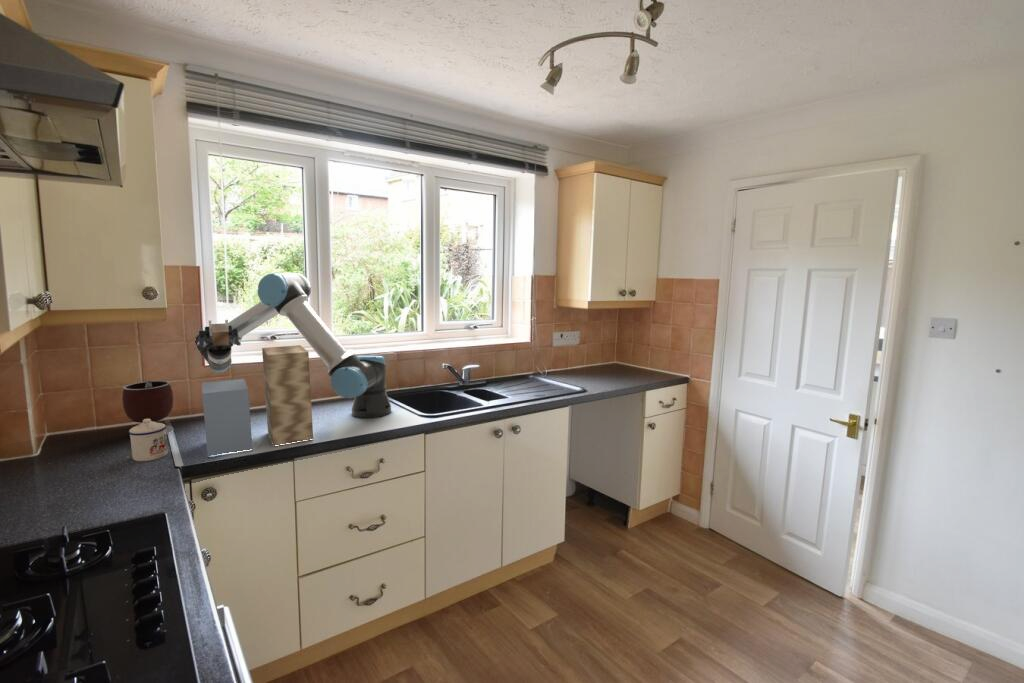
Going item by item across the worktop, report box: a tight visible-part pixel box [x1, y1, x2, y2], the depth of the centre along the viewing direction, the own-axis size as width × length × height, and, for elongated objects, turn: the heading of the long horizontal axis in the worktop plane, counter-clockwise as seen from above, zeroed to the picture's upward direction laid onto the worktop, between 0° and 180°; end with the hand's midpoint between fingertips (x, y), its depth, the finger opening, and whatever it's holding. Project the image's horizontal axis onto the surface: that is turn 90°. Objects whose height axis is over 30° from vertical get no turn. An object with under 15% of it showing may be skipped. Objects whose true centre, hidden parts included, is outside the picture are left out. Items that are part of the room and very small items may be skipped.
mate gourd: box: [122, 380, 174, 434], centre depth 169 cm, size 16×14×20 cm
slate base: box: [201, 378, 254, 457], centre depth 157 cm, size 12×16×20 cm
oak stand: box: [261, 345, 314, 446], centre depth 165 cm, size 12×16×30 cm
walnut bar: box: [211, 323, 229, 346], centre depth 157 cm, size 4×26×4 cm, turn 32°
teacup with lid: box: [128, 419, 169, 462], centre depth 150 cm, size 12×9×12 cm
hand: (218, 323), depth 161 cm, fingers closed on walnut bar, 4 cm apart
